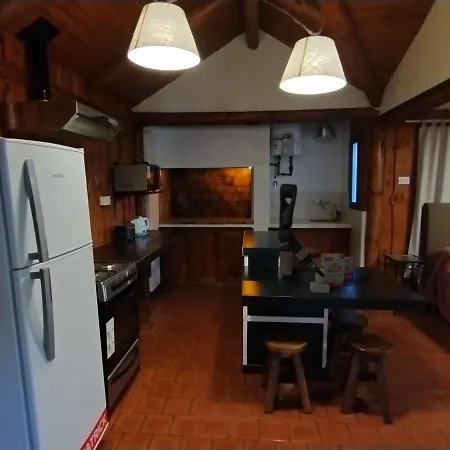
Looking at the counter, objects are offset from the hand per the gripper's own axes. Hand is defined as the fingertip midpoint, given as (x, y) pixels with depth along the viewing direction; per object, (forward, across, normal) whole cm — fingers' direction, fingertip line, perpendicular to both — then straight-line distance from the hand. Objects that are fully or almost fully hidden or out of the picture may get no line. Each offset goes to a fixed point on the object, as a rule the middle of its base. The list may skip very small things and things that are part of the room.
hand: (322, 275), depth 238 cm
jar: (+2, 0, +4) cm, 5 cm away
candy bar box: (+21, +25, -7) cm, 33 cm away
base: (+6, 0, +8) cm, 10 cm away
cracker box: (+13, +12, +1) cm, 18 cm away
